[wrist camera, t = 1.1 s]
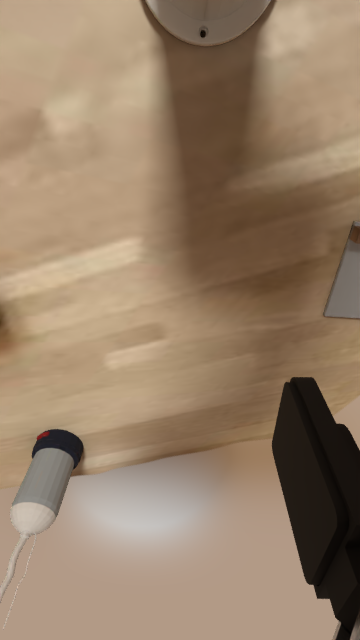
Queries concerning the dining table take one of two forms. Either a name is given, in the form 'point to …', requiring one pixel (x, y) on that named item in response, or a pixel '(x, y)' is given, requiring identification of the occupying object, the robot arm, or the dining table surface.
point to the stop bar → (355, 234)
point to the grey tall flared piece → (42, 490)
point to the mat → (346, 284)
